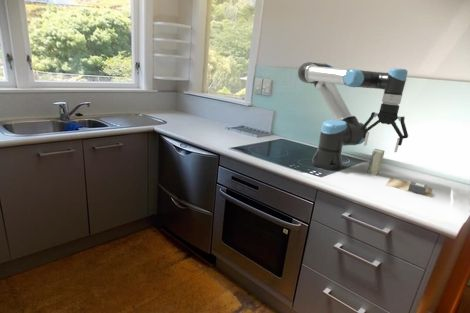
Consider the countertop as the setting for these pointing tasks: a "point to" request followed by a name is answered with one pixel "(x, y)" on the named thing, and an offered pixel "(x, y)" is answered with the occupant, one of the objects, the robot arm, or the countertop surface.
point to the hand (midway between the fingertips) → (379, 148)
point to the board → (406, 186)
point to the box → (376, 161)
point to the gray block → (417, 188)
